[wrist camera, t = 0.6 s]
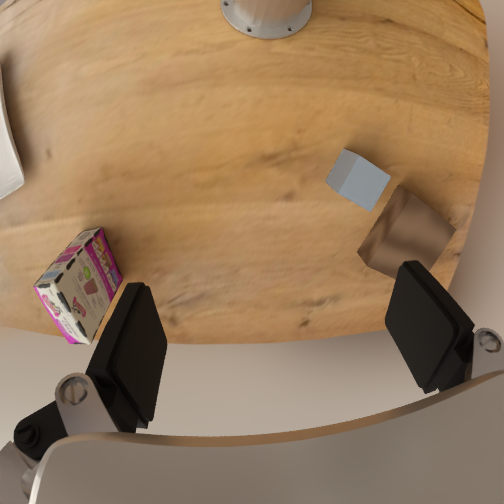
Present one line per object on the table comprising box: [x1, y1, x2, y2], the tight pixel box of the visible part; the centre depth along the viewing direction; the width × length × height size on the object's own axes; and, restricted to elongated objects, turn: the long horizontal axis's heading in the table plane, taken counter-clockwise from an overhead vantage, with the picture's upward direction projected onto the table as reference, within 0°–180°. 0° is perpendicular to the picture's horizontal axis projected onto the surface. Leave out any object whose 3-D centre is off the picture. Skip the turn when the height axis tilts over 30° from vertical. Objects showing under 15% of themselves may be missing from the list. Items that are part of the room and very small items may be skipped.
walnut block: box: [357, 185, 456, 279], centre depth 44 cm, size 14×14×5 cm
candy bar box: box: [33, 227, 123, 344], centre depth 37 cm, size 11×5×16 cm, turn 9°
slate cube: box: [325, 148, 391, 212], centre depth 38 cm, size 6×6×6 cm
